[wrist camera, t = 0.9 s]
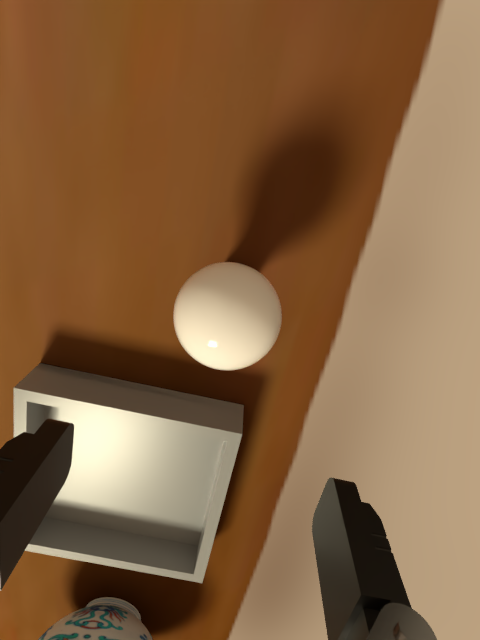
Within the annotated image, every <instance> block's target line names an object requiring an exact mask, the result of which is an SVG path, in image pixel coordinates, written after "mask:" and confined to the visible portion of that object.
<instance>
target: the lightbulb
mask: <svg viewBox="0 0 480 640" xmlns="http://www.w3.org/2000/svg"><path fill="white" fill-rule="evenodd" d="M173 320H174V327H175V331H176V334H177V337H178V339H179V341H180V343H181V345H182V346H183V348H184V349H185V350H186V352H187V353H188V354H189V355H190V356H191V357H192V358H194V359H195V360H196V361H198V362H199V363H201V364H203V365H205V366H207V367H210V368H213V369H218V370H238V369H242V368H245V367H248V366H250V365H252V364H254V363H256V362H257V361H259V360H260V359H262V358H263V357H264V356H265V355H266V354H267V353H268V352H269V351H270V349H271V348H272V347H273V345H274V343H275V342H276V339H277V337H278V335H279V332H280V328H281V322H282V311H281V304H280V301H279V298H278V295H277V293H276V291H275V289H274V287H273V286H272V284H271V283H270V282H269V281H268V280H267V278H266V277H265V276H263V275H262V274H261V273H260V272H258V271H257V270H255V269H253V268H251V267H249V266H247V265H244V264H240V263H235V262H220V263H215V264H211V265H208V266H206V267H204V268H202V269H200V270H198V271H197V272H195V273H194V274H193V275H192V276H191V277H190V278H189V279H188V280H187V281H186V282H185V283H184V285H183V286H182V288H181V289H180V291H179V293H178V295H177V298H176V301H175V305H174V313H173Z"/></svg>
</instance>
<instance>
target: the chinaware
mask: <svg viewBox="0 0 480 640" xmlns="http://www.w3.org/2000/svg"><path fill="white" fill-rule="evenodd" d="M38 640H153V638H152V636H151V635H150V633H149V631H148V630H147V628H146V627H145V626H144V624H143V623H142V622H141V616H140V613H139V612H138V610H137V609H136V608H135V607H134V606H133V605H132V604H130V603H129V602H127V601H124V600H122V599H118V598H113V597H102V598H97V599H95V600H92V601H91V602H89V603H88V604H87V606H86V607H85V608H82V609H79V610H77V611H75V612H72V613H71V614H69V615H67V616H65V617H64V618H62V619H61V620H59V621H58V622H56V623H55V624H54V625H53V626H51V627H50V628H49V629H48V630H47V631H46V632H45V633H44V634H43V635H42V636H41V637H40V638H39V639H38Z"/></svg>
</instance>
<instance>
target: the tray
mask: <svg viewBox="0 0 480 640" xmlns="http://www.w3.org/2000/svg"><path fill="white" fill-rule="evenodd" d="M243 411H244V405H241V404H236V403H231V402H227V401H222V400H217V399H212V398H207V397H202V396H197V395H193V394H188V393H183V392H178V391H173V390H168V389H163V388H159V387H154V386H149V385H144V384H139V383H134V382H129V381H125V380H120V379H115V378H110V377H105V376H100V375H95V374H91V373H86V372H81V371H76V370H71V369H66V368H61V367H57V366H52V365H47V364H42V363H40V364H39V365H38V366H36V367H35V368H34V369H33V370H32V371H31V372H30V373H29V374H28V375H27V376H26V377H25V378H24V379H23V380H22V381H20V382H19V383H18V384H17V385H16V386H15V387H14V438H15V437H16V436H18V435H20V434H21V433H23V432H27V433H32V434H35V432H36V431H37V430H38V429H39V427H40V426H41V425H42V424H43V422H44V421H45V420H46V419H54V420H59V421H64V422H68V423H73V424H74V439H73V451H72V463H71V468H70V471H69V474H68V477H67V479H66V481H65V483H64V485H63V487H62V488H61V490H60V492H59V493H58V495H57V497H56V499H55V500H54V502H53V504H52V505H51V507H50V509H49V510H48V512H47V514H46V515H45V517H44V519H43V520H42V522H41V524H40V525H39V527H38V529H37V531H36V532H35V534H34V536H33V537H32V539H31V541H30V542H29V544H28V546H27V547H26V549H25V551H30V552H36V553H41V554H47V555H52V556H57V557H63V558H68V559H74V560H79V561H84V562H90V563H95V564H101V565H106V566H112V567H117V568H122V569H128V570H133V571H139V572H144V573H149V574H155V575H160V576H166V577H171V578H176V579H182V580H187V581H193V582H198V583H202V582H203V578H204V575H205V571H206V567H207V564H208V560H209V556H210V552H211V549H212V545H213V541H214V538H215V534H216V530H217V526H218V523H219V519H220V515H221V511H222V508H223V504H224V500H225V497H226V493H227V489H228V485H229V482H230V478H231V474H232V471H233V467H234V463H235V459H236V456H237V452H238V448H239V445H240V441H241V437H242V430H243Z"/></svg>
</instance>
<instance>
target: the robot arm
mask: <svg viewBox="0 0 480 640" xmlns="http://www.w3.org/2000/svg"><path fill="white" fill-rule="evenodd" d="M73 439H74V424H73V423H68V422H64V421H59V420H54V419H46V420H45V421H44V422H43V424H42V425H41V426H40V427H39V429H38V430H37V431H36V432H35V434H32V433H27V432H23V433H21V434H20V435H18V436H16V437H15V438H13V439H11V440H9V441H8V442H6V443H5V445H4V446H3V447H2V448H1V449H0V591H1V589H2V588H3V586H4V584H5V583H6V581H7V579H8V578H9V576H10V574H11V573H12V571H13V569H14V568H15V566H16V564H17V563H18V561H19V559H20V557H21V556H22V554H23V552H24V551H25V549H26V547H27V546H28V544H29V542H30V541H31V539H32V537H33V536H34V534H35V532H36V531H37V529H38V527H39V525H40V524H41V522H42V520H43V519H44V517H45V515H46V514H47V512H48V510H49V509H50V507H51V505H52V504H53V502H54V500H55V499H56V497H57V495H58V493H59V492H60V490H61V488H62V487H63V485H64V483H65V481H66V479H67V477H68V474H69V471H70V468H71V463H72V451H73ZM312 532H313V540H314V547H315V554H316V560H317V567H318V573H319V581H320V587H321V594H322V601H323V608H324V614H325V621H326V627H327V635H328V640H437V638H436V636H435V634H434V632H433V631H432V629H431V627H430V626H429V625H428V623H427V622H426V621H425V619H424V618H423V617H422V616H421V615H420V614H418V613H417V612H416V611H415V610H413V609H412V608H411V605H410V602H409V600H408V597H407V594H406V591H405V588H404V585H403V582H402V580H401V576H400V573H399V571H398V568H397V565H396V562H395V559H394V556H393V553H391V547H390V544H389V541H388V539H386V533H385V530H384V527H383V524H382V521H381V519H380V517H379V516H378V515H377V513H376V512H375V511H374V509H373V508H372V506H371V505H370V504H368V503H364V502H361V500H360V496H359V493H358V490H357V487H356V484H355V483H354V482H349V481H344V480H340V479H335V478H329V479H328V481H327V483H326V485H325V488H324V490H323V493H322V495H321V498H320V500H319V503H318V505H317V508H316V510H315V513H314V517H313V525H312Z"/></svg>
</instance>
